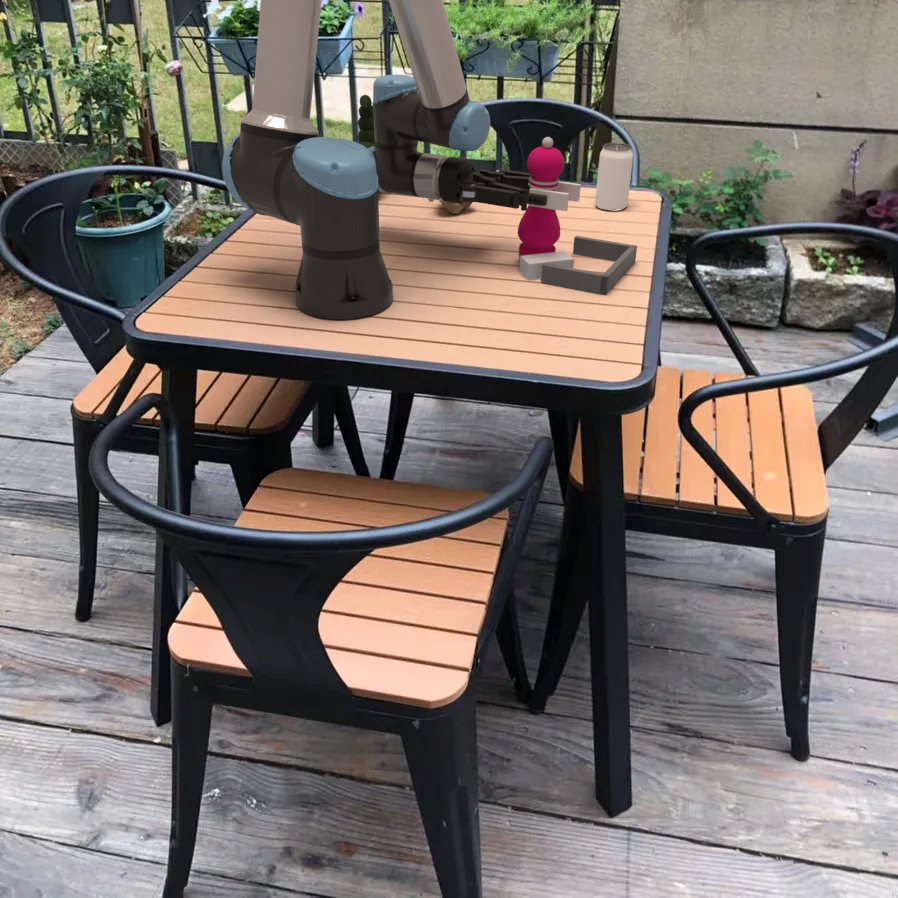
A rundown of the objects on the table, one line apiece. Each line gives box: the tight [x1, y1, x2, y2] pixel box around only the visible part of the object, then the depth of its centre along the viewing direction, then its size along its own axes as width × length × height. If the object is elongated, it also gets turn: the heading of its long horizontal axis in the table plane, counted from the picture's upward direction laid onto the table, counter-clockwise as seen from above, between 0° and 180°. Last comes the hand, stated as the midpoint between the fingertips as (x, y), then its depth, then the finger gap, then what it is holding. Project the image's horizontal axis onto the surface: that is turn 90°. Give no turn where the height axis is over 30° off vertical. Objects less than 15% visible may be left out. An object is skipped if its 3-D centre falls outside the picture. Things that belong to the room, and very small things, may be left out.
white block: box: [518, 250, 575, 281], centre depth 144 cm, size 8×4×3 cm, turn 108°
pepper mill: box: [517, 136, 565, 258], centre depth 143 cm, size 7×7×20 cm
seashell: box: [438, 200, 474, 215], centre depth 173 cm, size 14×8×8 cm, turn 5°
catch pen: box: [540, 235, 638, 296], centre depth 145 cm, size 16×11×3 cm
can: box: [594, 142, 634, 210], centre depth 172 cm, size 6×6×12 cm
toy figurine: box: [356, 94, 375, 149], centre depth 180 cm, size 9×19×25 cm
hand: (573, 197), depth 141 cm, fingers closed on pepper mill, 5 cm apart
